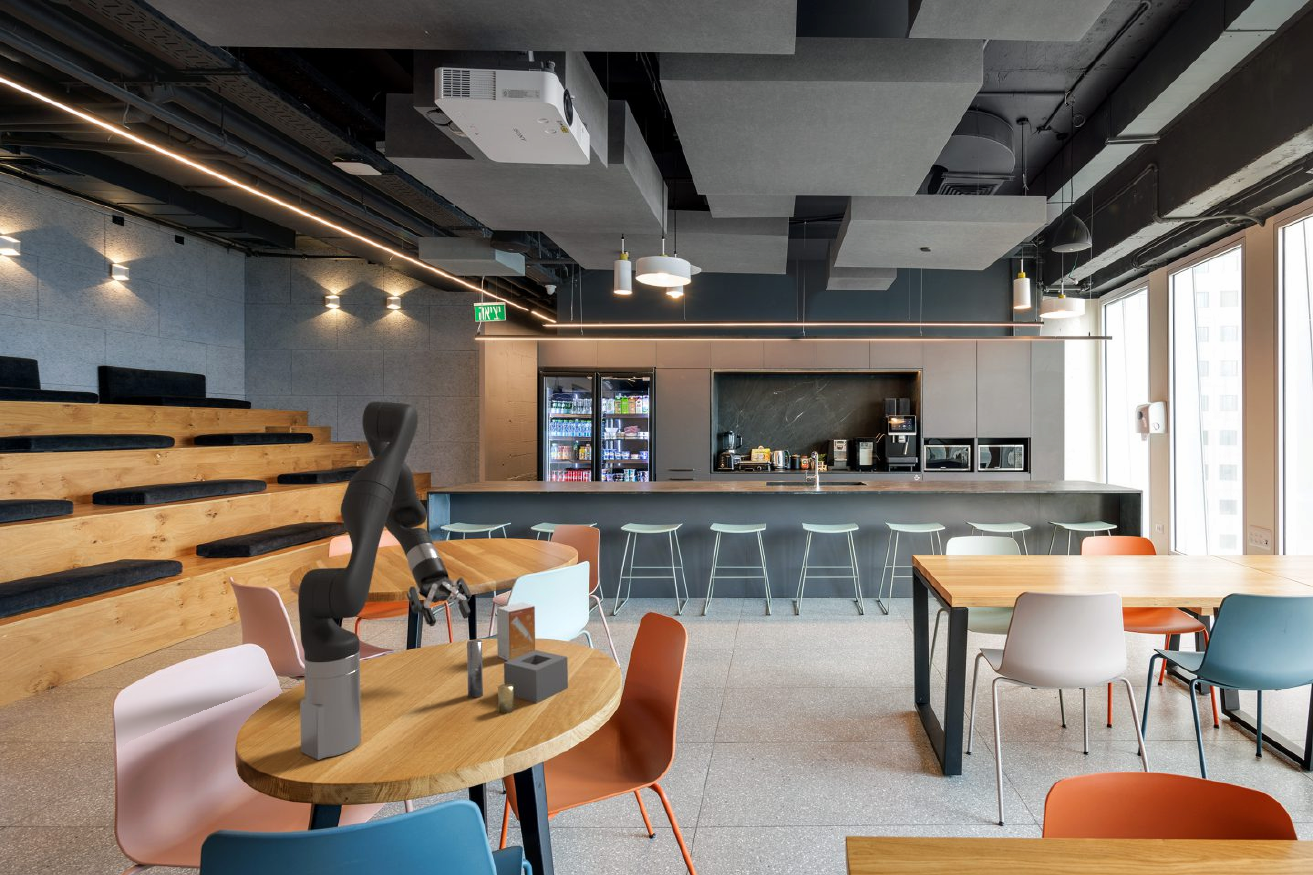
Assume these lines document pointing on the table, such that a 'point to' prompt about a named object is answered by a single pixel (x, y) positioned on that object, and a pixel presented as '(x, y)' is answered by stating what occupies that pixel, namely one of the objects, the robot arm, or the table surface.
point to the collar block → (536, 675)
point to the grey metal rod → (474, 669)
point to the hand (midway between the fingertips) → (450, 620)
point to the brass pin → (506, 698)
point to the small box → (515, 630)
